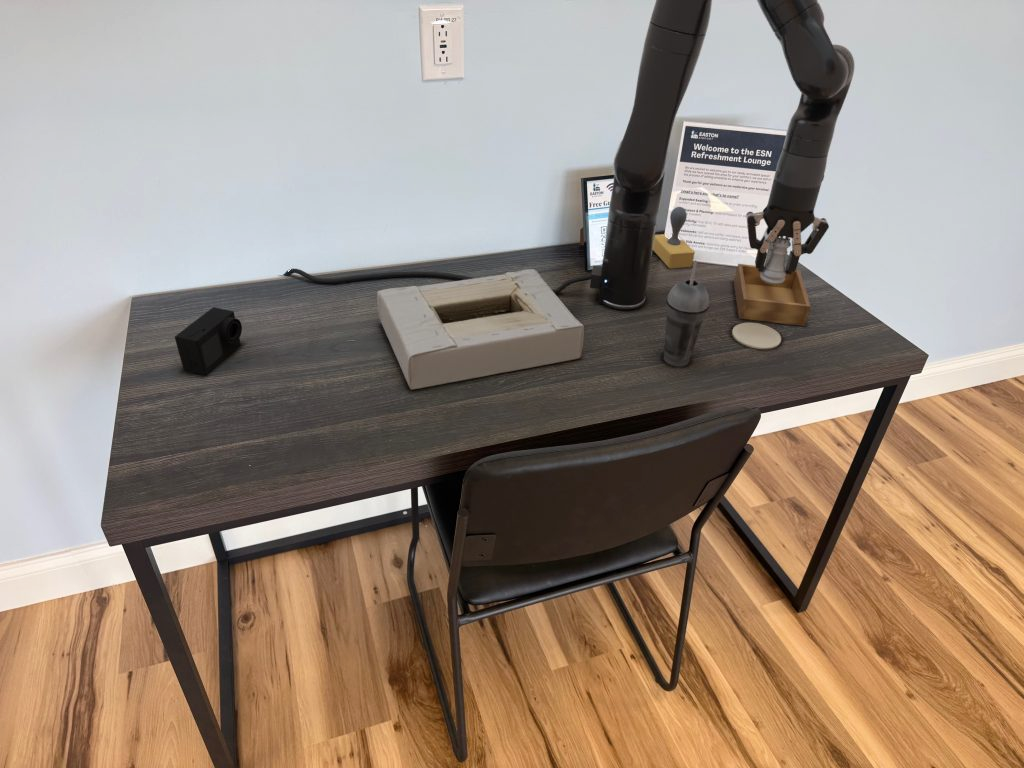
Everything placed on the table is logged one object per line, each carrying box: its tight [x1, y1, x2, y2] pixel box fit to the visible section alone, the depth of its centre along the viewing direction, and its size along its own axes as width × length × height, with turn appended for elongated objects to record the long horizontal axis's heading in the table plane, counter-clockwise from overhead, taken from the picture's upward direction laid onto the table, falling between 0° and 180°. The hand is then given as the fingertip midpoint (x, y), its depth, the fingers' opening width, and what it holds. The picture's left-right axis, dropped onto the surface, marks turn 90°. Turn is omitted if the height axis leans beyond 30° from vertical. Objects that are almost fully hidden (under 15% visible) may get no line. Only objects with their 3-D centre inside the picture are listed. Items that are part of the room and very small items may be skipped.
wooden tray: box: [733, 263, 812, 327], centre depth 148 cm, size 13×16×4 cm
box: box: [376, 268, 585, 391], centre depth 132 cm, size 23×8×32 cm
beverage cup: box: [663, 259, 710, 367], centre depth 126 cm, size 7×7×20 cm
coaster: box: [731, 322, 782, 350], centre depth 139 cm, size 9×9×1 cm
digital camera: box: [174, 307, 243, 376], centre depth 125 cm, size 10×5×7 cm, turn 163°
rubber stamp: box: [652, 206, 696, 270], centre depth 162 cm, size 10×6×12 cm, turn 13°
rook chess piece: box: [760, 236, 792, 284], centre depth 130 cm, size 4×4×8 cm
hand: (773, 270), depth 131 cm, fingers closed on rook chess piece, 4 cm apart
